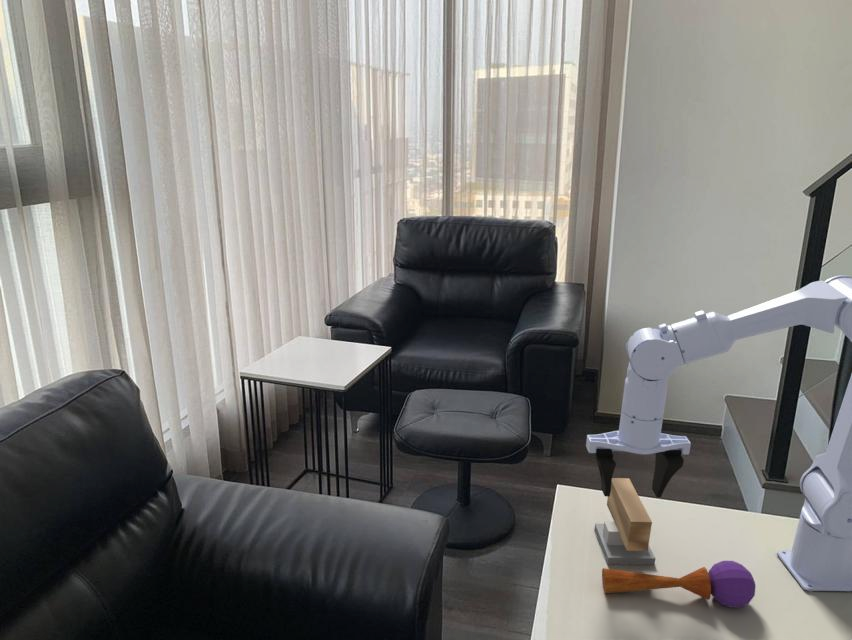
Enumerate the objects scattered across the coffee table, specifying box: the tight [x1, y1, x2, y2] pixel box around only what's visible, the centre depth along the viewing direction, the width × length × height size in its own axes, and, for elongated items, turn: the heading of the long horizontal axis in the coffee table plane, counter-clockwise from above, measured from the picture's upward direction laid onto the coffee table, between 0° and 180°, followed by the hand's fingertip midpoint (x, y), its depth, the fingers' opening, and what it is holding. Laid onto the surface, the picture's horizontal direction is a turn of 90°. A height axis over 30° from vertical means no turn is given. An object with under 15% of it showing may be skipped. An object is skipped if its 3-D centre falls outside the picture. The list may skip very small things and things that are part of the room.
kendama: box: [601, 560, 756, 608], centre depth 88 cm, size 6×6×20 cm
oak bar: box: [606, 477, 653, 551], centre depth 96 cm, size 3×11×5 cm, turn 0°
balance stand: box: [593, 521, 656, 566], centre depth 98 cm, size 7×8×4 cm
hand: (631, 493), depth 95 cm, fingers open, 7 cm apart
